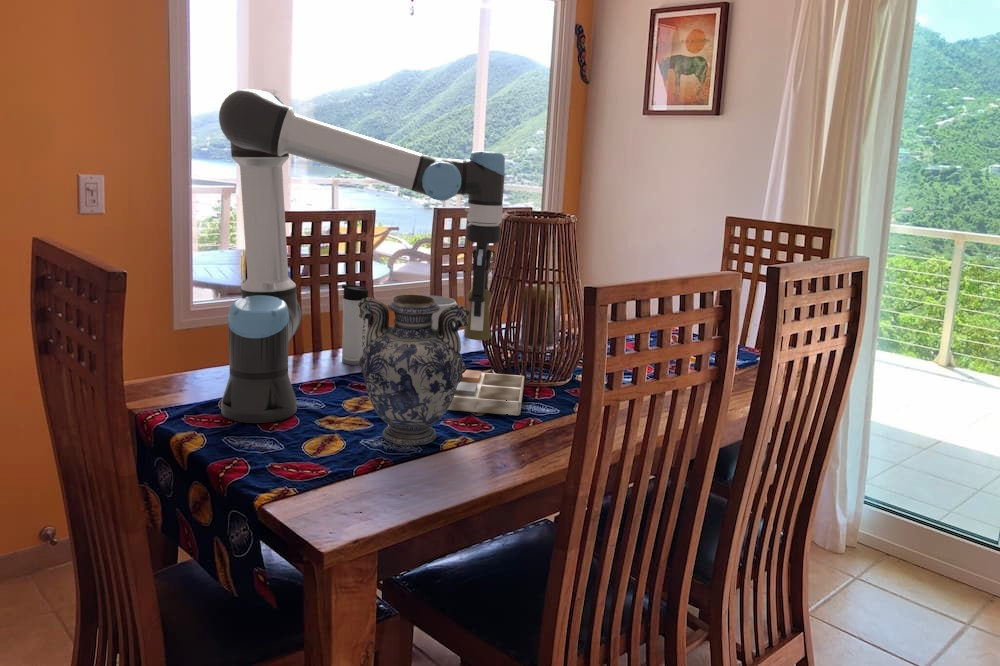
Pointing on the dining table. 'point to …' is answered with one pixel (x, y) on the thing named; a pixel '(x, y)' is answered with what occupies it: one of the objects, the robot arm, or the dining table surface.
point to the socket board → (488, 393)
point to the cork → (486, 322)
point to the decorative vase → (411, 364)
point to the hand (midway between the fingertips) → (477, 326)
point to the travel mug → (353, 324)
